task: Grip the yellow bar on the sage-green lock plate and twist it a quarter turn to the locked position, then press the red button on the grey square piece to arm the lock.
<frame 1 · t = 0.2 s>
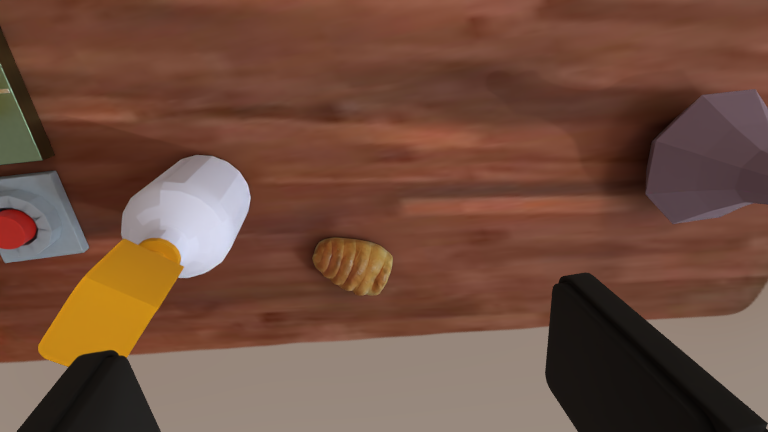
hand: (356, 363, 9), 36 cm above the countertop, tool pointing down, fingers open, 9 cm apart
grey square piece: (33, 215, 42), on the countertop
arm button: (9, 229, 39), point 3 cm above the countertop, slide at 0.1 cm
pastry: (355, 260, 50), on the countertop
flask: (679, 151, 50), on the countertop
soap bottle: (208, 193, 44), on the countertop
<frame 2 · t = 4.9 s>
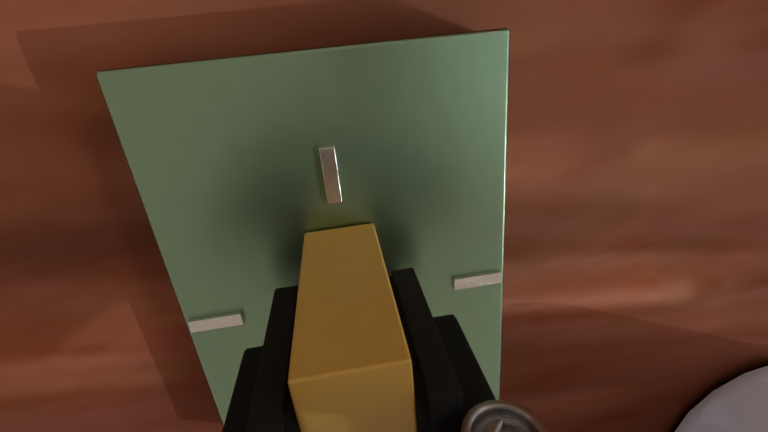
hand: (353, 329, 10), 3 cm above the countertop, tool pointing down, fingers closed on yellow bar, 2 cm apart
lock plate: (346, 263, 13), on the countertop
yellow bar: (357, 368, 9), point 5 cm above the countertop, hinge at 0.0°, touching gripper
soap bottle: (741, 424, 20), on the countertop
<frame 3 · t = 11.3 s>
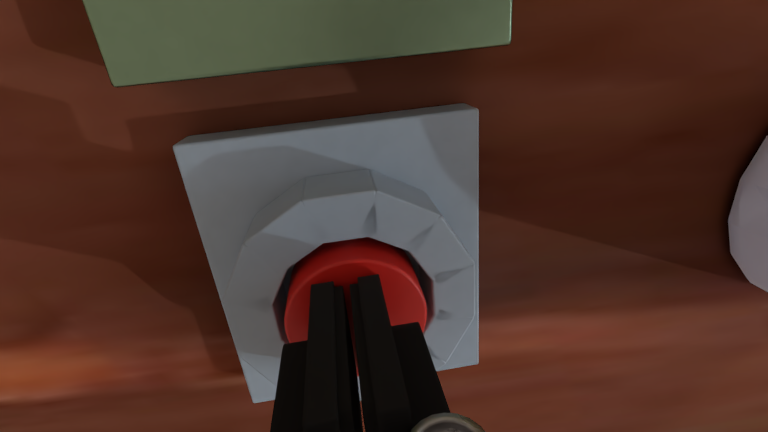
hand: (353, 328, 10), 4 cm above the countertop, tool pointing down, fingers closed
grey square piece: (350, 255, 13), on the countertop
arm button: (355, 302, 11), point 3 cm above the countertop, slide at -0.7 cm, touching gripper
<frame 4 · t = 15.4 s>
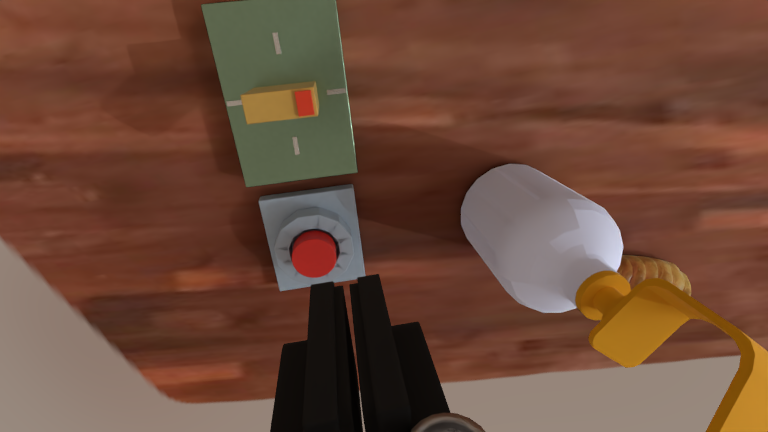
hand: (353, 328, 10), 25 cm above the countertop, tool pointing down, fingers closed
grey square piece: (315, 236, 36), on the countertop
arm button: (314, 253, 33), point 3 cm above the countertop, slide at 0.1 cm
pastry: (632, 280, 44), on the countertop
lock plate: (289, 94, 31), on the countertop
yellow bar: (283, 101, 27), point 5 cm above the countertop, hinge at 89.9°
soap bottle: (504, 207, 38), on the countertop
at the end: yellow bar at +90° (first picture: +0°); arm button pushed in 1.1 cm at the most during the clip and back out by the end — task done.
